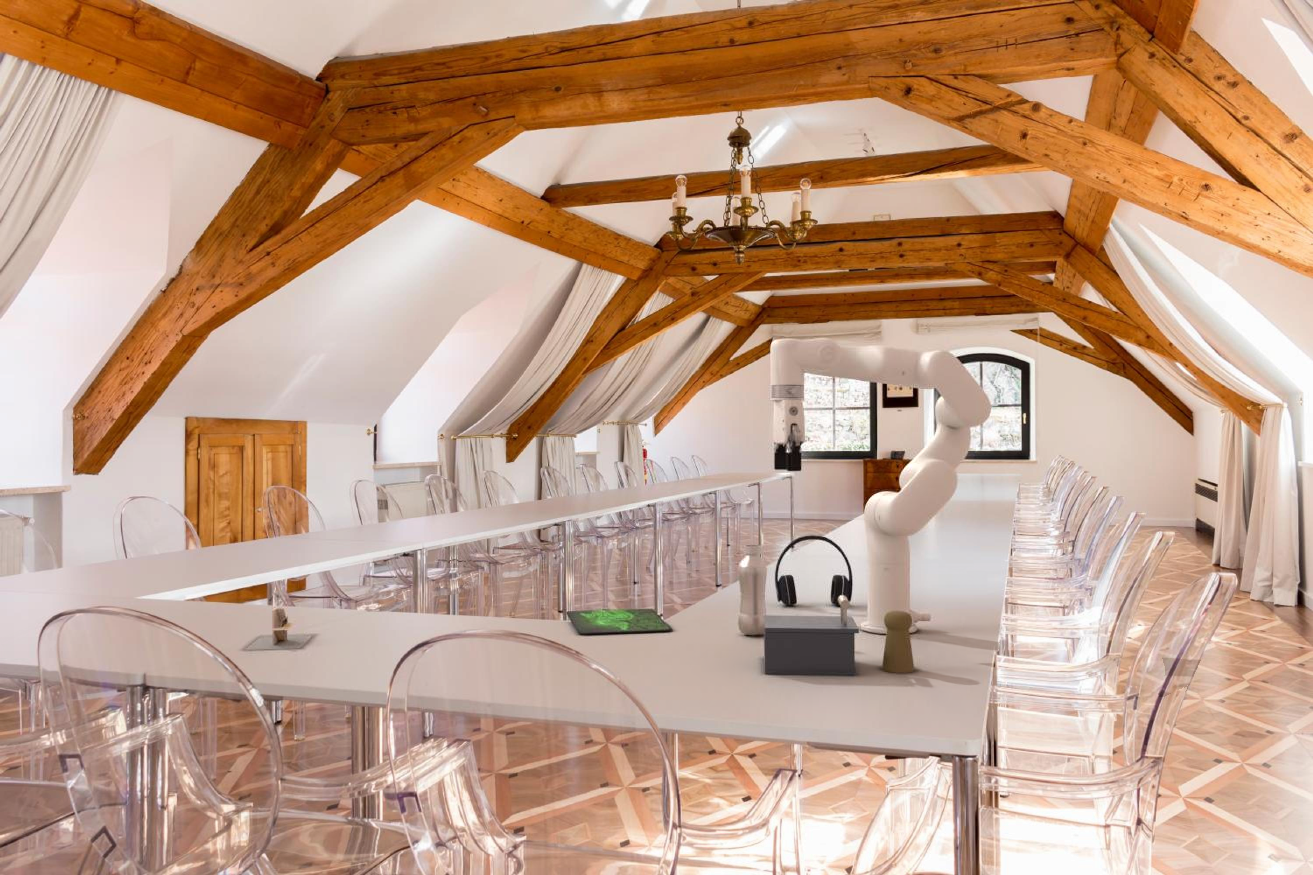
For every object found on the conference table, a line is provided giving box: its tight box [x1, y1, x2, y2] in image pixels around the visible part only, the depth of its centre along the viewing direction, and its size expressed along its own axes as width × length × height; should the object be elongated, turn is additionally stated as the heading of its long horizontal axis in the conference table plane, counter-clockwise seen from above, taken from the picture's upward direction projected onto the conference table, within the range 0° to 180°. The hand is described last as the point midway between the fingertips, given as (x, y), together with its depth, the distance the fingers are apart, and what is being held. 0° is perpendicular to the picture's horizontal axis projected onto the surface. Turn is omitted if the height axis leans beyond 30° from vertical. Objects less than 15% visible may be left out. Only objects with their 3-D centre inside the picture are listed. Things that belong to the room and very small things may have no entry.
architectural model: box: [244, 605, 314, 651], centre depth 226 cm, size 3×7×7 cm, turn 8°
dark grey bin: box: [763, 628, 856, 676], centre depth 201 cm, size 17×14×8 cm
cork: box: [881, 611, 915, 674], centre depth 199 cm, size 6×6×11 cm
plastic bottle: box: [737, 544, 768, 636], centre depth 234 cm, size 6×7×20 cm
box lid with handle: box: [764, 595, 860, 634], centre depth 201 cm, size 17×14×6 cm
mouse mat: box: [566, 608, 673, 635], centre depth 249 cm, size 27×22×1 cm
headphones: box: [774, 534, 854, 607], centre depth 273 cm, size 20×7×18 cm, turn 89°
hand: (787, 470), depth 235 cm, fingers open, 9 cm apart
